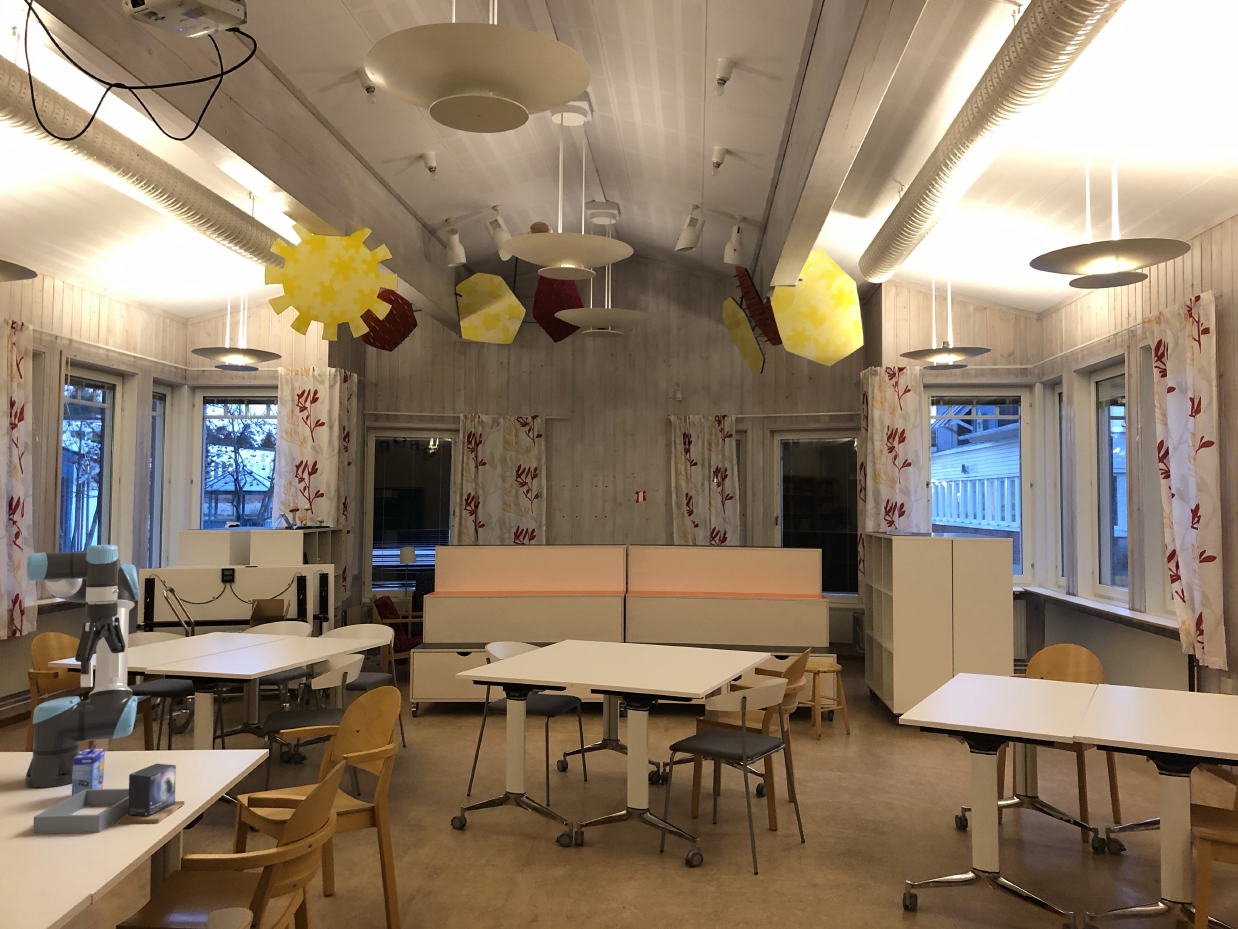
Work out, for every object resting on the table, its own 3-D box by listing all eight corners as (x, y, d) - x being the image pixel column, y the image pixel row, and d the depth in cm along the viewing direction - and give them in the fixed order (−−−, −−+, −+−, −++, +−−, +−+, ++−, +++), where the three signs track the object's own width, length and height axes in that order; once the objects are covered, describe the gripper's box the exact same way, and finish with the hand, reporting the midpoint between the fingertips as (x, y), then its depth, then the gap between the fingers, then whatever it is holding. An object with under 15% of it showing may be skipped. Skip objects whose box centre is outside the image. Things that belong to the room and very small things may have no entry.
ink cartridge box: (93, 802, 249) (94, 748, 249) (70, 804, 247) (71, 749, 248) (104, 791, 258) (105, 739, 259) (83, 793, 257) (83, 740, 258)
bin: (84, 804, 247) (84, 789, 247) (144, 803, 247) (144, 788, 247) (33, 833, 225) (33, 816, 225) (99, 832, 225) (99, 815, 225)
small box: (149, 817, 232) (149, 775, 233) (126, 816, 234) (127, 774, 234) (177, 804, 243) (177, 763, 243) (155, 803, 244) (155, 763, 245)
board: (146, 805, 245) (146, 801, 245) (184, 805, 245) (184, 801, 245) (118, 823, 231) (118, 819, 231) (158, 823, 231) (158, 819, 231)
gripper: (89, 607, 236) (88, 690, 235) (139, 597, 261) (138, 673, 260) (60, 607, 236) (59, 691, 235) (112, 597, 261) (112, 673, 260)
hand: (100, 681), depth 247 cm, fingers open, 13 cm apart
